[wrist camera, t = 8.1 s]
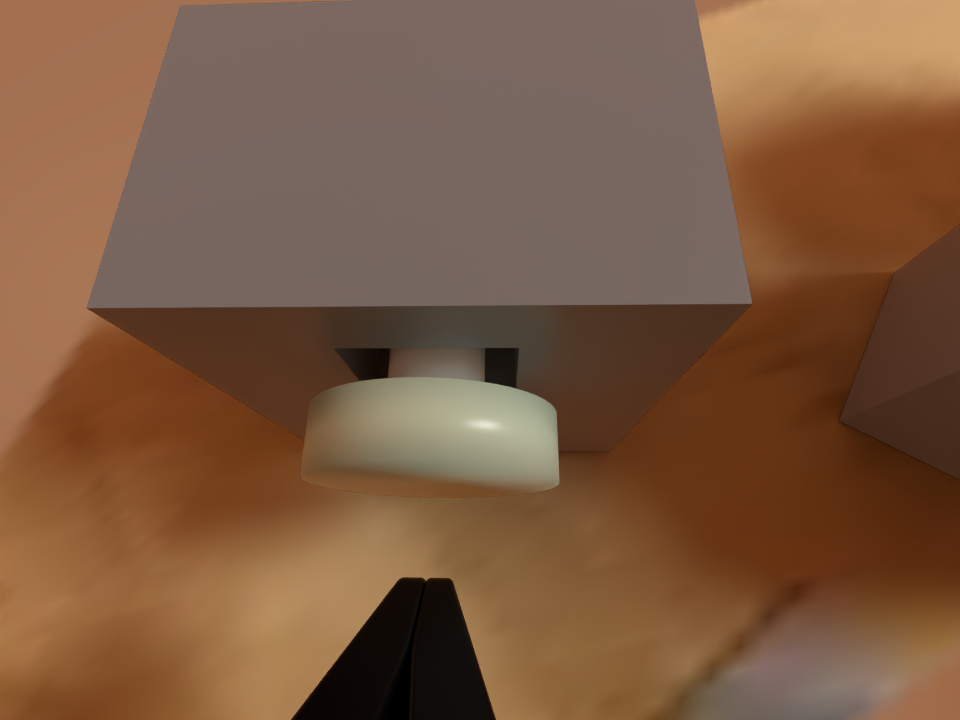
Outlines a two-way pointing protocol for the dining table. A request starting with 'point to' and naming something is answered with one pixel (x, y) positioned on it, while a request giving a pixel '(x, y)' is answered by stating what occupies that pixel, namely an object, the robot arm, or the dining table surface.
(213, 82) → the left button box
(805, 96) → the dining table surface
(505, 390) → the sage button
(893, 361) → the right button box
